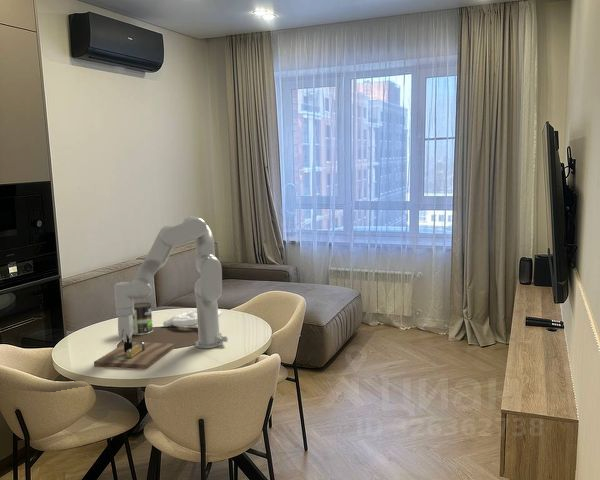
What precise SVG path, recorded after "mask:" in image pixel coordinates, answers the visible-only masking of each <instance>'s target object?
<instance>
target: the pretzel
mask: <svg viewBox="0 0 600 480" xmlns="http://www.w3.org/2000/svg"><path fill="white" fill-rule="evenodd" d="M221 315H222V311H221V310H219V309H218V318H219V317H221ZM162 325H163V326H164V327H170V326H176V327H188V326H195V325H198V320H197V309H196V310H191V311H187V312H184V313H183V312H181V313H180V314H176V315H173V316H172V317H170V318H168V319H165V320H164V321H163V323H162Z"/></svg>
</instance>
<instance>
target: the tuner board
mask: <svg viewBox="0 0 600 480" xmlns="http://www.w3.org/2000/svg"><path fill="white" fill-rule="evenodd" d="M138 342H139V341H137V342H136V341H132V347H134V346H135V345H137V343H138ZM144 343H145V350H143V351H140V352H139V353H137V354H136V355H135V356H133V357H132V358H128V357H127V353H125V352H124V343H123V344H121V345H119V346H118V347H115V348H114V349H113V350H111V351H109V352H108V353H106V354H105V355H103V356H101V357H100V358H98V359H97V360H95V361H93V366H94V367H95V368H96V367H97V368H98V367H99V368H116V369H117V368H118V369H135V370H147V369H149V368H150V367H152V366H153V365H154V364H156V363H157V362H159V360H161V359H162V358H164V357H165V356H166V355H167V354H169V353H170V352H171V351H173V350H174V349H175V348H176V345H175V343H165V342H162V343H161V342H144Z"/></svg>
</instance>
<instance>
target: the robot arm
mask: <svg viewBox="0 0 600 480" xmlns="http://www.w3.org/2000/svg"><path fill="white" fill-rule="evenodd" d="M213 234H214V233H212V230H211V228H210V227H209V226H208V224H207V223H206V221H205V220H204V219H202V218H201V217H197V216H194V215H190V216H187V217H185V218H184V220H183V222H182V223H180V224H179V223H178V224H177V225H174V226H172V225H164V226H163V227H161V228H160V230H159V232H158V234H157V236H156V238H155V239H154V241H153V244H152V246H151V248H150V249H149V250H148V253H147V255H146V257H145V258H144V260H143V262H142V263H141V265H140V266H139V268H138V270H137V272H136V273H135V275H134V277H133V280H132V281H131V282H130V281H120V282H116V283H115V284H114V286H113V292H114V305H115V315H116V317H117V335H118V339H119V340H120V339H121V340H123V344H124V352H125V353H127V350H128V349H131V348H132V342H133V341H132V340H133V337H132V336H133V335H134V334H133V332H134V325H133V314H134V313H135V312H134V304H135V301H134V299H137V300H138V299H140V300H142V299H146V298H149V297H150V296H151V294H152V291H153V287H152V285H151V282H152V281H153V278H154V277H155V275H156V273H157V272H158V271H159V270H160V269H161V268H163V267H164V266H165V265H166V264H167V261H168V259H169V258H170V255H171V253H172V252H173V249H174V248H175V247H178V246H180V245H183V244H186V243H188V242H191V241H193V240H194V244H195V245H194V246H195V268H196V270H197V272H198V273H199V274H200V277H199V278H198V279H197V280H196V282H194V283H195V284H194V296H195V301H196V302H195V303H196V310H197V320H198V324H197V333H198V334H197V335H198V340H197V341H195V347H197V348H199V349H213V348H218V347H220V346H222V345H223V344H224V343H227V342H228V341H229V339H228V338H229V337H228V336H227V335H226V336H223V335H222V332H220V325H219V317H218V310H219V304H218V300H219V298H220V297H221V295H222V292H223V270H222V269H223V268H222V263H221V262H220V260H219V258H217V257H216V249H215V237H214V235H213Z"/></svg>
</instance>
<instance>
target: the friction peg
mask: <svg viewBox="0 0 600 480" xmlns="http://www.w3.org/2000/svg"><path fill="white" fill-rule="evenodd" d="M137 342H138V343H137V345H135V346H134V347H132V348H131V349H128V350H127V357H128V358H132V357H133V356H135V355H136V354H137V353H139V352H140V351H143V350H145V343H146V342H145V341H137Z"/></svg>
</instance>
